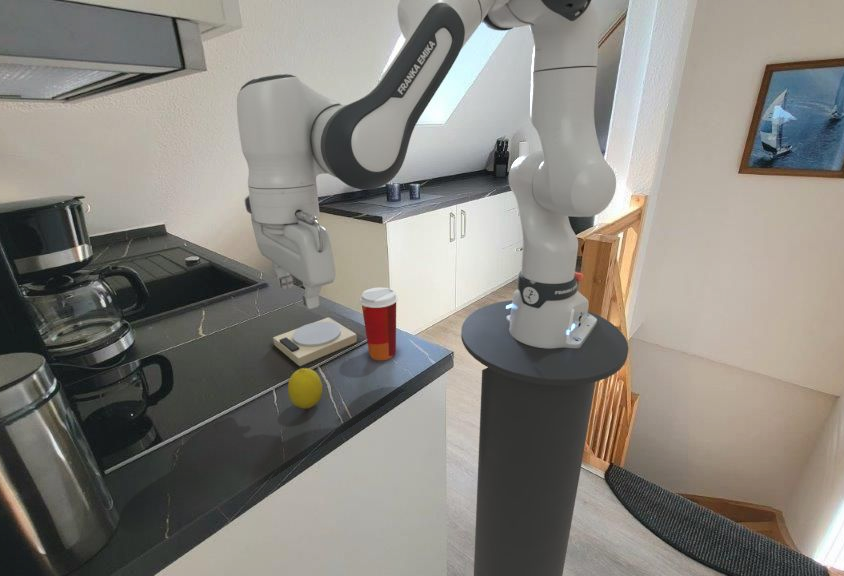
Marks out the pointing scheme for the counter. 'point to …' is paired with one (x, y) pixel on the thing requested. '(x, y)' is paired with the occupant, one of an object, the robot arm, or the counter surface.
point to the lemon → (305, 388)
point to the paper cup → (380, 321)
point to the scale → (314, 340)
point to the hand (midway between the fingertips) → (298, 296)
